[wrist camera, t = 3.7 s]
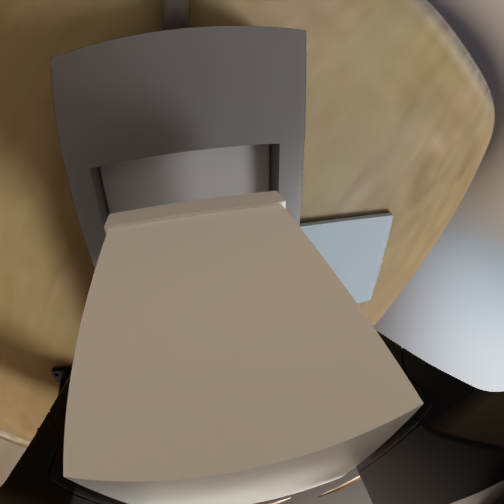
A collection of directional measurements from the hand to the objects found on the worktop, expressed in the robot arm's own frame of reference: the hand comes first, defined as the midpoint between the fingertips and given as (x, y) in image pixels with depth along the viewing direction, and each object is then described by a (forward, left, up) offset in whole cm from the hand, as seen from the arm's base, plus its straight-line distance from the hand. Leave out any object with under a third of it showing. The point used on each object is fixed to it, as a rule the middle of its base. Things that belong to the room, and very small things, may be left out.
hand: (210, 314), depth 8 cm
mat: (+9, -7, -9) cm, 14 cm away
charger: (0, 0, -2) cm, 2 cm away
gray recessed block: (0, -1, -9) cm, 9 cm away
